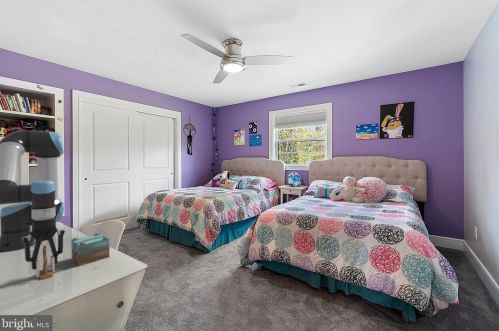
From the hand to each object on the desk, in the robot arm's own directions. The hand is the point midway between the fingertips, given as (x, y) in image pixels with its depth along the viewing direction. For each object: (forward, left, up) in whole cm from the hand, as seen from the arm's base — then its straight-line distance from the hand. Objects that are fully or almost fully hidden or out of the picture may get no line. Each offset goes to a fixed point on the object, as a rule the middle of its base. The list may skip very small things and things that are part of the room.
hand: (45, 273), depth 98 cm
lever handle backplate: (0, 0, -1) cm, 1 cm away
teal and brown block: (-4, +18, 0) cm, 18 cm away
